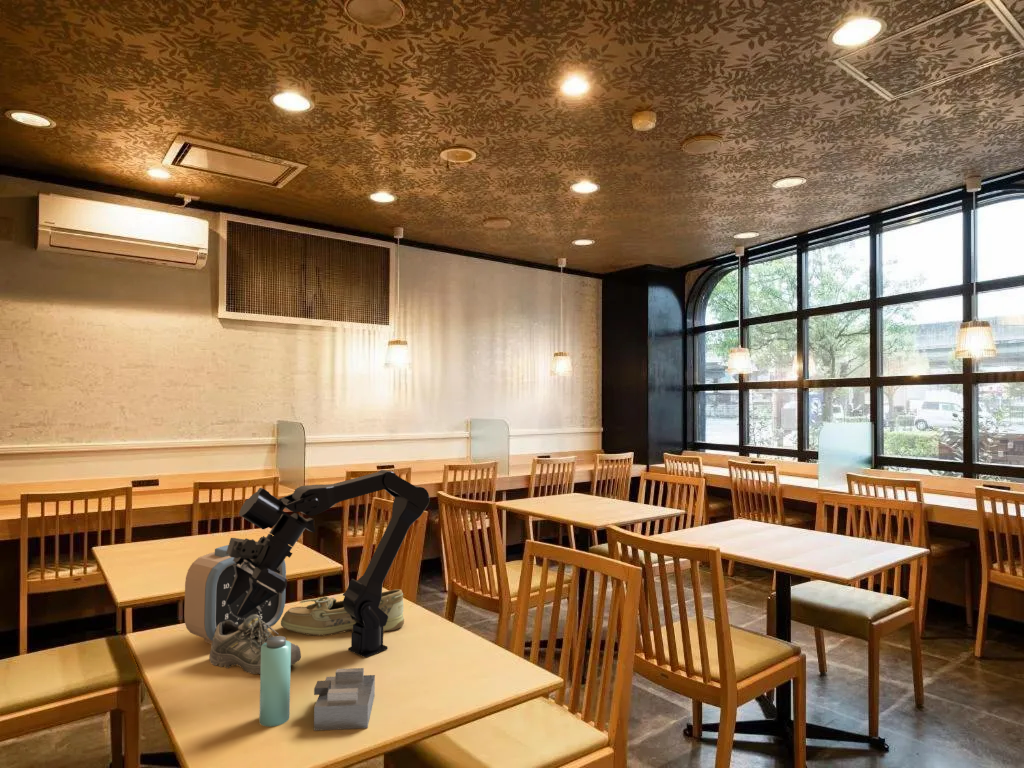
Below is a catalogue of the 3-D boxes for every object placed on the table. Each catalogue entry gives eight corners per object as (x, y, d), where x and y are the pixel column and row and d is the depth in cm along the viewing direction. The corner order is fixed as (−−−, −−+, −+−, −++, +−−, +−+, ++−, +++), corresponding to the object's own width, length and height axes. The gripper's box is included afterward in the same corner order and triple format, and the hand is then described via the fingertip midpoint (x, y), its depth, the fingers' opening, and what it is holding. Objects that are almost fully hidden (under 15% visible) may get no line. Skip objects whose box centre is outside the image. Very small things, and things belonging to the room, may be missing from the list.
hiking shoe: (281, 672, 127) (294, 610, 133) (191, 672, 132) (208, 612, 138) (304, 678, 135) (316, 619, 141) (219, 678, 139) (234, 621, 146)
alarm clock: (208, 656, 140) (210, 557, 140) (183, 646, 145) (185, 551, 145) (285, 628, 157) (287, 540, 158) (261, 621, 162) (263, 536, 163)
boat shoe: (284, 624, 161) (285, 587, 161) (403, 617, 167) (403, 582, 167) (277, 639, 150) (278, 600, 151) (404, 632, 156) (405, 594, 156)
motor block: (321, 698, 121) (322, 667, 121) (374, 696, 122) (375, 665, 122) (308, 730, 109) (309, 696, 109) (367, 728, 110) (368, 694, 110)
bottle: (279, 709, 116) (281, 632, 116) (295, 718, 113) (296, 638, 113) (253, 720, 112) (255, 640, 112) (269, 729, 109) (271, 647, 109)
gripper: (236, 514, 137) (188, 580, 131) (261, 528, 122) (208, 604, 116) (279, 539, 142) (234, 604, 136) (307, 556, 127) (259, 629, 121)
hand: (233, 609), depth 127 cm, fingers open, 9 cm apart
